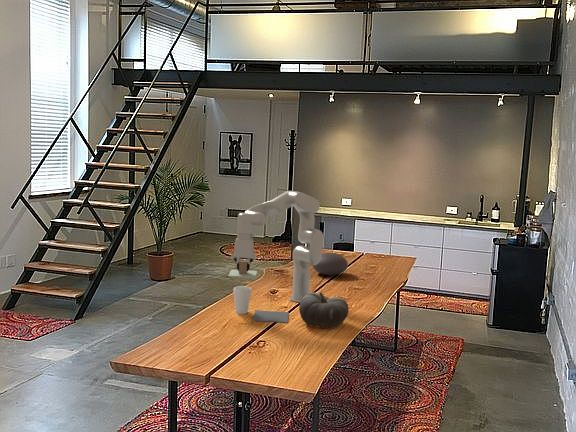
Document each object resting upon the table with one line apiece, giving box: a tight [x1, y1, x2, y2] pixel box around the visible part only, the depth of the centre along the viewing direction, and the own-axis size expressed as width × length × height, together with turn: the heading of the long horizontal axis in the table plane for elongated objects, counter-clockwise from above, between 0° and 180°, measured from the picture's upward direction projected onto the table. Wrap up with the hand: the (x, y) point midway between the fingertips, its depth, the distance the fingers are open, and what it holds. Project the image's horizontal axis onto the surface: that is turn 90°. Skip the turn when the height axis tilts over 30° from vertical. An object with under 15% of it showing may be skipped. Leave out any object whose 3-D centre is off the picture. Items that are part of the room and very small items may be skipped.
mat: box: [251, 310, 290, 324], centre depth 331 cm, size 18×18×1 cm
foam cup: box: [232, 285, 252, 315], centre depth 337 cm, size 10×9×13 cm
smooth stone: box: [311, 252, 349, 276], centre depth 434 cm, size 25×25×15 cm
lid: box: [227, 260, 258, 279], centre depth 334 cm, size 14×14×7 cm
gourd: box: [298, 291, 349, 329], centre depth 322 cm, size 25×25×17 cm
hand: (243, 270), depth 334 cm, fingers closed on lid, 4 cm apart
